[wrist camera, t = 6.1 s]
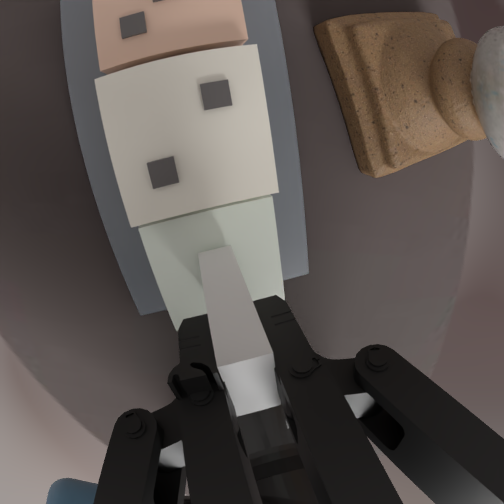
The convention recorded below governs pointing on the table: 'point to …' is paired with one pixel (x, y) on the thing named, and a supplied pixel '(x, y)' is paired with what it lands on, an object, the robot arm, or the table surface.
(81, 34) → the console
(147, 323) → the table surface
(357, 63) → the candle holder
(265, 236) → the one pip key
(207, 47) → the three pip key
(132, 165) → the two pip key
